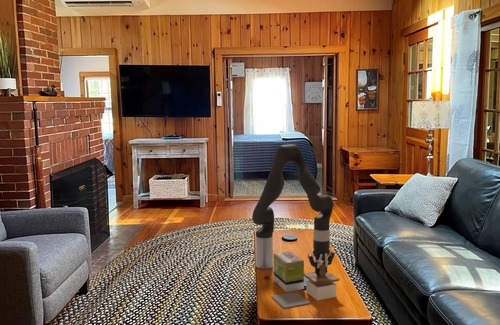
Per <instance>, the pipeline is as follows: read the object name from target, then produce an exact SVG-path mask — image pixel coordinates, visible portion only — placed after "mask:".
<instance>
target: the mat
mask: <svg viewBox="0 0 500 325" xmlns="http://www.w3.org/2000/svg"><path fill="white" fill-rule="evenodd" d="M271 299H273V300H274V301H275V302H276V303H277V304H278V305H279V306H280V307H281V308H282V309H285V310H286V309H291V308H296V307H300V306H306V305H311V302H310V301H309V300H308V299H307V298H305V297H304V296H303V295H302V294H300V293H299V291H290V292H285V293H280V294H276V295H271Z"/></svg>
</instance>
